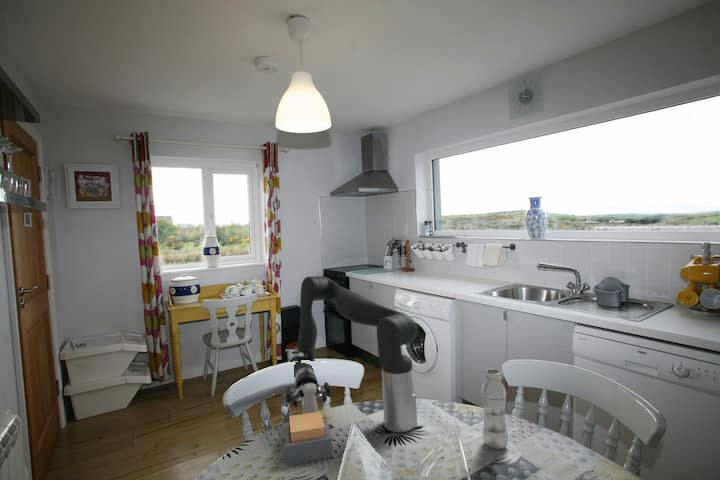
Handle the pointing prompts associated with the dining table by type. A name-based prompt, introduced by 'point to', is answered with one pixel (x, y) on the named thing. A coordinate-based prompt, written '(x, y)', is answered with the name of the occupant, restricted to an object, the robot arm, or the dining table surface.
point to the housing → (308, 447)
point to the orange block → (306, 426)
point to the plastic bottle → (494, 411)
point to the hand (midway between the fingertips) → (310, 402)
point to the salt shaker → (309, 398)
